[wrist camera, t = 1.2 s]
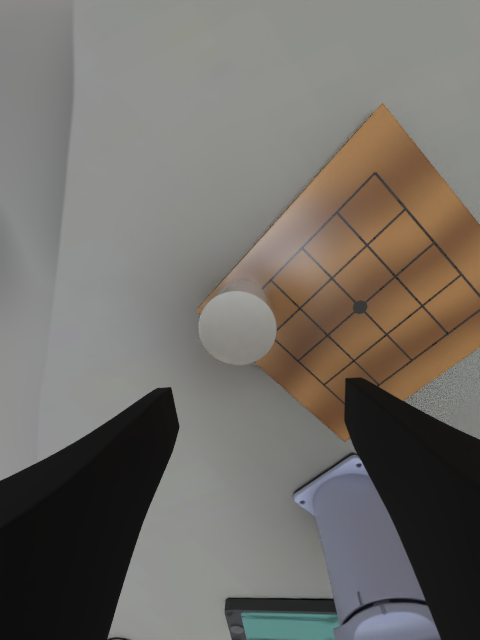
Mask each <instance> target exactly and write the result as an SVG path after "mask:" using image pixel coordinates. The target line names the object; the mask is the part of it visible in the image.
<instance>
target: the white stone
mask: <svg viewBox="0 0 480 640" xmlns="http://www.w3.org/2000/svg"><path fill="white" fill-rule="evenodd" d="M198 330H199V336H200V339H201V342H202V344H203V345H204V347H205V349H206V350H207V351H208V352H209V353H210V354H211V355H212V356H213V357H214V358H216V359H218V360H219V361H221V362H224V363H227V364H231V365H246V364H250V363H253V362H256V361H258V360H259V359H261V358H262V357H263V356H265V355H266V354H267V353H268V352H269V350H270V349H271V348H272V346H273V344H274V341H275V338H276V333H277V325H276V320H275V316H274V312H273V308H272V304H271V301H270V298H269V296H268V294H267V293H266V291H265V290H264V289H263V288H262V287H261V286H259V285H258V284H256V283H254V282H251V281H247V280H237V281H233V282H230V283H228V284H226V285H225V286H223V287H222V288H221V289H220V290H219V291H218V292H217V293H216V295H215V296H214V297H213V298H212V299H211V300H210V301H209V302H208V303H207V305H206V306H205V307H204V309H203V311H202V313H201V315H200V318H199V324H198Z"/></svg>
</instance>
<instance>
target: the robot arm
mask: <svg viewBox="0 0 480 640" xmlns="http://www.w3.org/2000/svg"><path fill="white" fill-rule="evenodd" d="M344 422H345V425H346V427H347V430H348V433H349V436H350V438H351V441H352V443H353V446H354V448H355V450H356V452H357V454H358V456H357V455H351V456H350V457H348V458H347V459H345V460H344V461H342V462H341V463H339V464H338V465H336V466H335V467H333V468H332V469H330V470H329V471H327V472H326V473H324V474H323V475H321V476H320V477H319V478H317V479H316V480H314V481H313V482H311V483H310V484H308V485H307V486H305V487H304V488H302V489H301V490H299V491H298V492H296V493H295V494H294V496H293V497H294V501H295V502H296V503H298V504H299V505H300V506H301V507H303V508H304V509H305V510H306V511H308V512H309V513H310V514H312V515H313V516H314V517H315V518H316V520H317V525H318V530H319V534H320V539H321V543H322V548H323V552H324V557H325V561H326V566H327V570H328V575H329V579H330V584H331V588H332V593H333V598H334V602H335V607H336V611H337V616H338V620H339V625H340V626H339V627H335V628H333V632H334V637H335V640H480V440H479V439H477V438H475V437H473V436H470V435H468V434H466V433H464V432H462V431H460V430H457V429H455V428H453V427H451V426H449V425H447V424H445V423H443V422H441V421H439V420H437V419H435V418H434V417H432V416H430V415H428V414H426V413H424V412H422V411H420V410H418V409H417V408H415V407H413V406H411V405H409V404H408V403H406V402H404V401H402V400H401V399H399V398H397V397H395V396H394V395H392V394H390V393H389V392H387V391H385V390H383V389H382V388H380V387H378V386H377V385H375V384H373V383H371V382H370V381H368V380H366V379H364V378H362V377H358V378H345V411H344ZM178 431H179V422H178V418H177V413H176V408H175V403H174V399H173V394H172V389H171V387H168V388H157V389H155V390H153V391H152V392H150V393H148V394H147V395H145V396H144V397H143V398H141V399H140V400H138V401H137V402H135V403H134V404H133V405H131V406H130V407H128V408H127V409H125V410H124V411H123V412H121V413H120V414H118V415H117V416H115V417H114V418H112V419H111V420H109V421H108V422H106V423H105V424H103V425H102V426H100V427H99V428H97V429H95V430H94V431H92V432H91V433H89V434H88V435H86V436H85V437H83V438H81V439H80V440H78V441H76V442H75V443H73V444H71V445H69V446H68V447H66V448H64V449H62V450H60V451H59V452H57V453H55V454H53V455H51V456H50V457H48V458H46V459H44V460H42V461H40V462H38V463H36V464H34V465H32V466H30V467H28V468H26V469H24V470H22V471H20V472H18V473H16V474H14V475H12V476H10V477H8V478H6V479H3V480H1V481H0V640H107V638H108V634H109V631H110V627H111V624H112V620H113V617H114V613H115V610H116V606H117V603H118V599H119V596H120V593H121V590H122V586H123V583H124V580H125V577H126V573H127V570H128V567H129V564H130V560H131V557H132V554H133V551H134V548H135V545H136V542H137V539H138V536H139V533H140V530H141V527H142V524H143V521H144V519H145V516H146V514H147V511H148V509H149V506H150V504H151V501H152V499H153V497H154V494H155V492H156V490H157V487H158V485H159V483H160V480H161V478H162V476H163V473H164V471H165V469H166V466H167V464H168V461H169V459H170V457H171V454H172V452H173V448H174V445H175V442H176V438H177V434H178ZM358 463H359V464H358Z"/></svg>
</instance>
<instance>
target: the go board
mask: <svg viewBox="0 0 480 640" xmlns="http://www.w3.org/2000/svg"><path fill="white" fill-rule="evenodd" d="M237 280H247V281H251V282H254V283H256V284H258V285H259V286H261V287H262V288H263V289H264V290H265V291H266V293H267V294H268V296H269V298H270V301H271V304H272V308H273V312H274V316H275V320H276V325H277V333H276V338H275V341H274V344H273V346H272V348H271V349H270V350H269V352H268V353H267V354H266V355H265V356H263V357H262V358H261V359H259V360H258V361H256V362H255V363H256V364H257V365H258V366H259V367H260V368H262V369H263V370H264V371H265V372H266V373H267V374H268V375H269V376H271V377H272V378H273V379H274V380H275V381H276V382H277V383H279V384H280V385H281V386H282V387H283V388H284V389H285V390H286V391H288V392H289V393H290V394H291V395H292V396H293V397H294V398H296V399H297V400H298V401H299V402H300V403H301V404H302V405H303V406H305V407H306V408H307V409H308V410H309V411H310V412H311V413H313V414H314V415H315V416H316V417H317V418H318V419H319V420H320V421H322V422H323V423H324V424H325V425H326V426H327V427H328V428H330V429H331V430H332V431H333V432H334V433H335V434H336V435H337V436H339V437H340V438H341V439H342V440H343V441H344V442H345V441H347V440H348V439H350V436H349V433H348V430H347V427H346V425H345V422H344V411H345V378H358V377H362V378H364V379H366V380H368V381H370V382H371V383H373V384H375V385H377V386H378V387H380V388H382V389H383V390H385V391H387V392H389V393H390V394H392V395H394V396H395V397H397V398H399V399H401V400H402V401H404V400H405V399H407V398H408V397H410V396H411V395H412V394H414V393H415V392H417V391H418V390H420V389H421V388H422V387H424V386H425V385H427V384H428V383H430V382H431V381H432V380H434V379H435V378H437V377H438V376H440V375H441V374H442V373H444V372H445V371H447V370H448V369H450V368H451V367H452V366H454V365H455V364H457V363H458V362H460V361H461V360H462V359H464V358H465V357H467V356H468V355H470V354H471V353H472V352H474V351H475V350H477V349H478V348H479V347H480V225H479V223H478V222H477V221H476V219H475V218H474V217H473V216H472V214H471V213H470V212H469V211H468V209H467V208H466V207H465V206H464V204H463V203H462V202H461V201H460V199H459V198H458V197H457V196H456V194H455V193H454V192H453V191H452V189H451V188H450V187H449V186H448V184H447V183H446V182H445V181H444V179H443V178H442V177H441V176H440V174H439V173H438V172H437V170H436V169H435V168H434V167H433V165H432V164H431V163H430V162H429V160H428V159H427V158H426V157H425V155H424V154H423V153H422V152H421V150H420V149H419V148H418V147H417V145H416V144H415V143H414V142H413V140H412V139H411V138H410V137H409V135H408V134H407V133H406V132H405V130H404V129H403V128H402V127H401V125H400V124H399V123H398V121H397V120H396V119H395V118H394V116H393V115H392V114H391V113H390V111H389V110H388V109H387V108H386V106H385V105H384V104H383V103H382V104H381V105H380V106H379V107H378V109H377V110H376V111H375V112H374V113H373V114H372V115H371V116H370V117H369V119H368V120H367V121H366V122H365V123H364V124H363V125H362V126H361V127H360V129H359V130H358V131H357V132H356V133H355V134H354V135H353V136H352V137H351V138H350V140H349V141H348V142H347V143H346V144H345V145H344V146H343V147H342V148H341V150H340V151H339V152H338V153H337V154H336V155H335V156H334V157H333V158H332V160H331V161H330V162H329V163H328V164H327V165H326V166H325V167H324V168H323V170H322V171H321V172H320V173H319V174H318V175H317V176H316V177H315V178H314V180H313V181H312V182H311V183H310V184H309V185H308V186H307V187H306V188H305V190H304V191H303V192H302V193H301V194H300V195H299V196H298V197H297V198H296V200H295V201H294V202H293V203H292V204H291V205H290V206H289V207H288V208H287V210H286V211H285V212H284V213H283V214H282V215H281V216H280V217H279V218H278V219H277V221H276V222H275V223H274V224H273V225H272V226H271V227H270V228H269V229H268V231H267V232H266V233H265V234H264V235H263V236H262V237H261V238H260V239H259V241H258V242H257V243H256V244H255V245H254V246H253V247H252V248H251V249H250V251H249V252H248V253H247V254H246V255H245V256H244V257H243V258H242V259H241V261H240V262H239V263H238V264H237V265H236V266H235V267H234V268H233V269H232V271H231V272H230V273H229V274H228V275H227V276H226V277H225V278H224V279H223V281H222V282H221V283H220V284H219V285H218V286H217V287H216V288H215V289H214V291H213V292H212V293H211V294H210V295H209V296H208V297H207V298H206V299H205V300H204V302H203V303H202V304H201V305H200V306H199V307H198V308H197V309H196V311H197V312H198V313H199V314H200V315H201V313H202V311H203V309H204V307H205V306H206V305H207V303H208V302H209V301H210V300H211V299H212V298H213V297H214V296H215V295H216V293H217V292H218V291H219V290H220V289H221V288H222V287H223V286H225V285H226V284H228V283H230V282H233V281H237Z"/></svg>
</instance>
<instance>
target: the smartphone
mask: <svg viewBox="0 0 480 640" xmlns="http://www.w3.org/2000/svg"><path fill="white" fill-rule="evenodd" d="M225 616H226V619H227V623H228V627H229V631H230V635H231V638H232V640H335V637H334V632H333V628H335V627H339V626H340V625H339V620H338V616H337V611H336V607H335V602H334V601H328V600H272V599H227V600H226V604H225Z"/></svg>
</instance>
